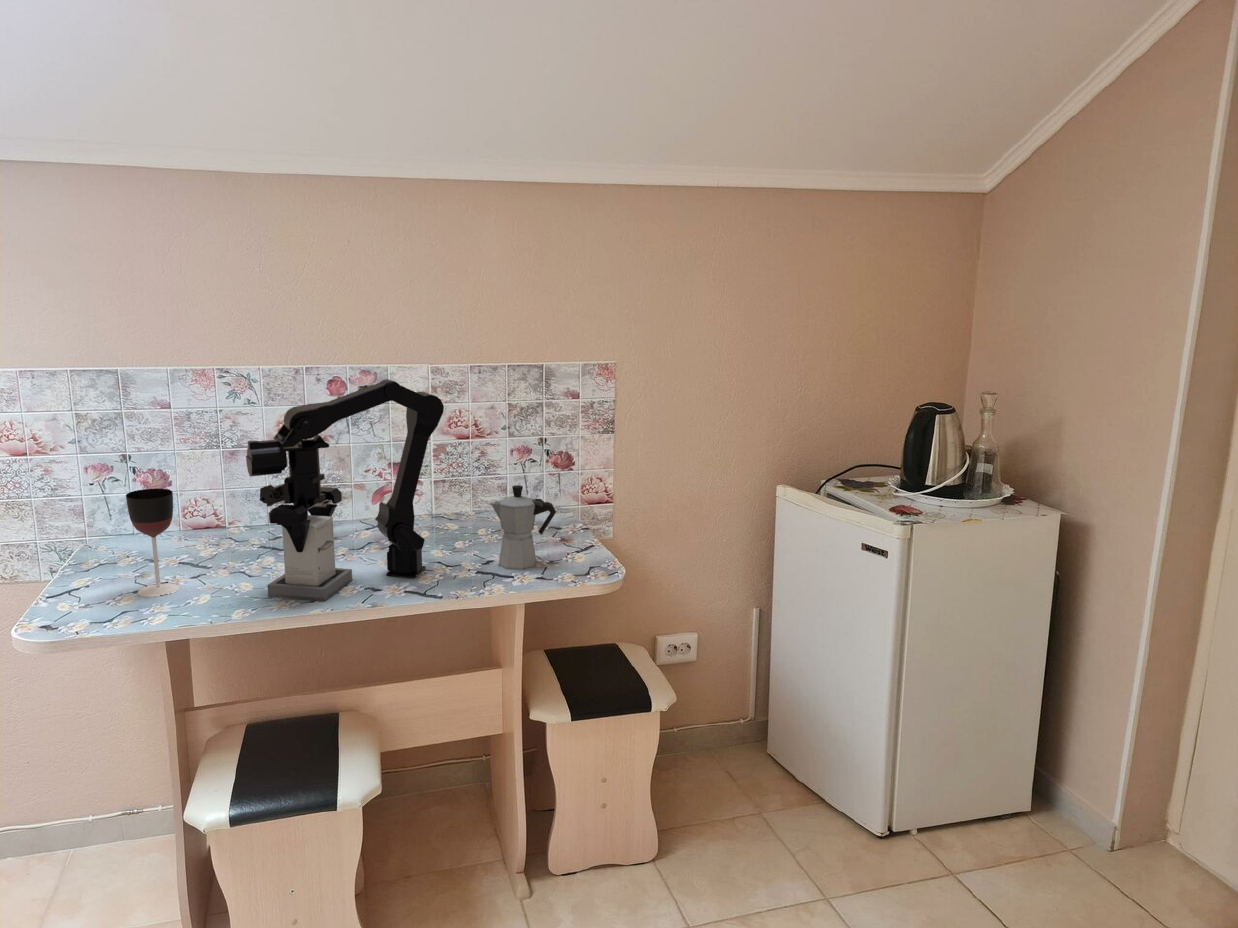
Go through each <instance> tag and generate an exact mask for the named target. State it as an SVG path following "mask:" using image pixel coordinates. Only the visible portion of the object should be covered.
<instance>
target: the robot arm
mask: <svg viewBox="0 0 1238 928" xmlns="http://www.w3.org/2000/svg"><path fill="white" fill-rule="evenodd" d="M388 402H394V403H396V404H399V405H401V406H403V407H405V408H406V416H405V419H406V420H405V421H406V429H407V434H406V438H405V442H404V445H403V450H402V454H401V458H400V463H399V465H398V469H397V474H396V478H395V481H394V482H395V483H394V485H393V491H392V494H391V496H390V497H389V499H388V500H387V502H386V503H385V502H382V501H381V502H380V503H379V506H378V507H379V508H378V514H377V516H376V517H375V519H374V520H375V521H377V528H378V530H379V532H380V533H381V534H382V535H383V536H384V537H385V538H386V539H387V541H388V542H389V543H390V545H388V551H387V552H386V567H387V568H386V569H387V572H386V576H388V577H400V578H413V579H414V578H417V577H418V576H419V575H420V573H422V572H423V571H424V570H425V569H426V566H425V565H423V547H424V543H425V538H423V536H421V535H420V534H418V533H417V532H416V531H415V530H414V528H415V509H414V500H415V495H416V491H417V487H418V484H419V478H420V475H421V470H422V467H423V463H424V458H425V455H426V452H427V447H428V443H429V439H430V437H432V434H433V433H434V432H435V431H436V428H437V427H438V425H439V423H440V422H441V421H440V420H441V418H442V417H443V414H444V409H445V407H444V404H443V402H442V400H441V399H440V398H439V397H438V396H436V395H434V394H431V393H428V392H425V391H414V390H411V389H410V388H407V387H405V386H403V385H400V383H398V382H397V381H395V380H392V379H388V378H387V379H386V378H385V379H383V380H381V381H380V382H377V383H375V384H371V385H369V386H366V387H364V388H361V389H359V390H355V391H353V392H350V393H348V394H345V395H342V396H340V397H337V398H334V399H331V400H328V401H324V402H317V403H316V402H315V403H308V404H302V405H297V406H293V407H291V408H289V409H288V410H287V411H286V412H285V414H284V417H283V424H282V425H281V427H280V429H279V430H278V431H277V433H276V434H275V436H273V439H268V440H248V441H247V449H246V456H245V461H246V462H245V463H246V468H247V473H248V475H249V477H260V476H268V475H280V474H282V473H283V471H285V470H286V468H287V467H288V470H289V474H288V476H286V477H285V478H284V480H283V482H284V483H282V484H279V485H275V486H273V485H272V484H269V485H267V486H263V487H260V488H259V501H260V502H262V503H263V504H265V505H266V506H267V507H268V508H269V507H272V506H273V505H275V504H278V503H282V502H284V504H280V505H278V506H276V507H274V508H272V509H271V510H270V511H269V512H268V522H269V524H274V525H275V524H276V525H277V526H281V527H282V526H283V527H284V528H285V529H286V530H287V532H288V533H289V535H290V538H291V540H292V542H293V544H294V547H295V549H296V551H297V552H303V549H304V546H305V542H306V538H307V533H308V529H309V525H310V520H307V517H308V515H309V514H310V515H314V516H328V517H333V514H334V512H335V509H336V508H337V507H338V505H337V504H338V503H341V502H342V501H343V497H342V491H341V490H340V489H339V488H338V487H329V486H328V487H327V486H324V487H323V486H322V485H321V484H322V483H321V482H322V481H323V480H325V479H326V478H325V473H321V467H320V449H324V448H325V449H327V448H330V443H328V442H326V441H325V440H324V439H323V438H322V436H321V435H320V434H321V433H323V432H325V431H326V430H328V428H330V427H331V426H332V425H333V424H335V423H337V422H339V421H341V420H344V419H346V418H348V417H351V416H354V415H356V414H359V413H362V412H365V411H367V410H370V409H372V408H375V407H378V406H381V405H383V404H386V403H388ZM287 454H288V455H287ZM287 456H288V457H287ZM331 502H332V503H333V504H332V503H331Z"/></svg>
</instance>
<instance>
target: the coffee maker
mask: <svg viewBox="0 0 1238 928" xmlns="http://www.w3.org/2000/svg"><path fill="white" fill-rule="evenodd" d="M523 488H524V487H523V485H519V484H518V485H517V484H516V485H512V493H513V495H512V496H508V497H504V498H502V499H499V500H497V501H493V502H490V503H488V505H490V506H491V507H492V508H493V511H495V514H496V516H497V517H498V519H499V522H500V527H501V530H503V535H502V540H501V546H500V553H499V560H498V566H499V567H501V568H504V569H506V570H513V571H514V570H518V571H522V570H523V571H524V570H527V569H530V568H534V567H536V564H537V556H536V550H535V545H534V538H533V534H532V532H533V531H534V529H535V528H534V527H535V521H536V515H539V514H542V513H545V512H549V515H548V516H547V518H545V520H544V522H543V524H541V527H540V528H539V529H538V531H537V532H538V534H540V535H541V536H542V535H543V534H544V532H545V530H546V529H547V527H548V526H549V524H550V522H552V519H553V518H554V516H555V515H556V513H557V511H556V508H555V507H554V504H553V503H551V502H549V501H544V500H543V499H542V498H532V497H527V496H523V495H522V494H523V493H522V492H523Z"/></svg>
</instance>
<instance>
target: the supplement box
mask: <svg viewBox="0 0 1238 928" xmlns="http://www.w3.org/2000/svg"><path fill="white" fill-rule="evenodd" d="M307 520H310V525H309V529H308V533H307V538H306V542H305V546H304V549H303V552H297V551H296V549H295V547H294V544H293V542H292V540H291V538H290V535H289V533H288V532H287V530H286V529H285V528H284V527H283V526H281V531H282V532H281V533H282V546H283V547H282V549H283V560H284V561H283V564H284V574H285V583H288V584H297V585H307V586H318V585H320V584H321V583H322V582H324V581H325V580H327V579H329V578H330V577H332V576H334V575H335V568H336V557H335V556H336V554H335V537H334V535H335V534H334V518H333V516H332V517H328V516H314V515H311V514H310V515H309V514H308V517H307Z"/></svg>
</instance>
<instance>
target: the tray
mask: <svg viewBox="0 0 1238 928" xmlns="http://www.w3.org/2000/svg"><path fill="white" fill-rule="evenodd" d="M351 582H353V570H352V569H351V568H339V567H335V575H334V576H332V577H330V578H329V579H327V580H325V581H324V582H322V583H321V584H320V585H318V586H307V585H297V584H288V583H285V573H284V574H282V575H281V576H279V577H277V578H276V579H274V580H272V581H271V582H270V583H268V584H267V597H268V598H279V599H293V600H303V601H304V600H305V601H318V602H327V601H328V600H329V599H330V598H331V597H333V596H334V595H335V594H337V593H338V592H339V591H340V590H342V589H343V588H345V587H346V586H347V585H349V584H350V583H351Z"/></svg>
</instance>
